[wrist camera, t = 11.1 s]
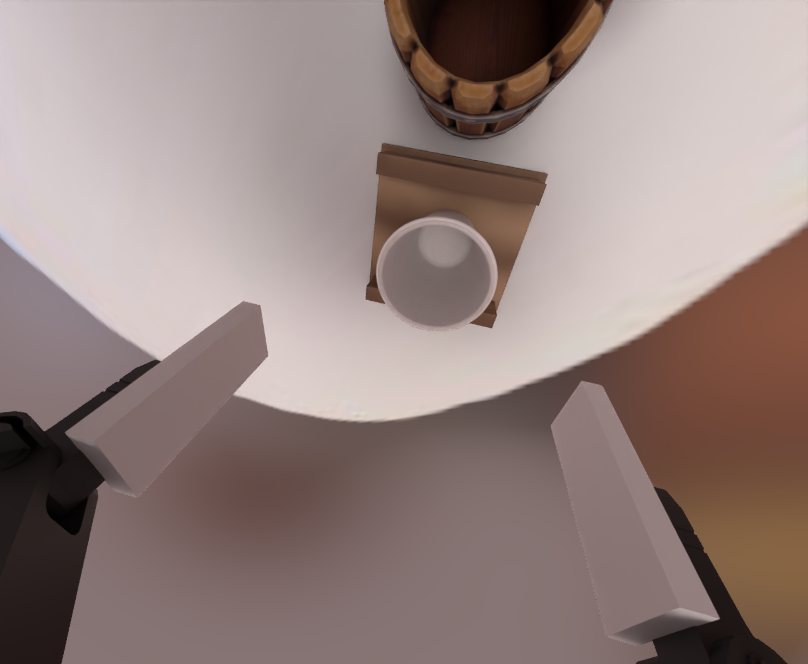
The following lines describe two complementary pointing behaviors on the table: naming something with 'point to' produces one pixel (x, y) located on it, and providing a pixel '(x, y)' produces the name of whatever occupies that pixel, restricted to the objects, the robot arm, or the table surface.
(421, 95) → the mug
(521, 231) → the rail stand
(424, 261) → the dixie cup
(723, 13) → the table surface
